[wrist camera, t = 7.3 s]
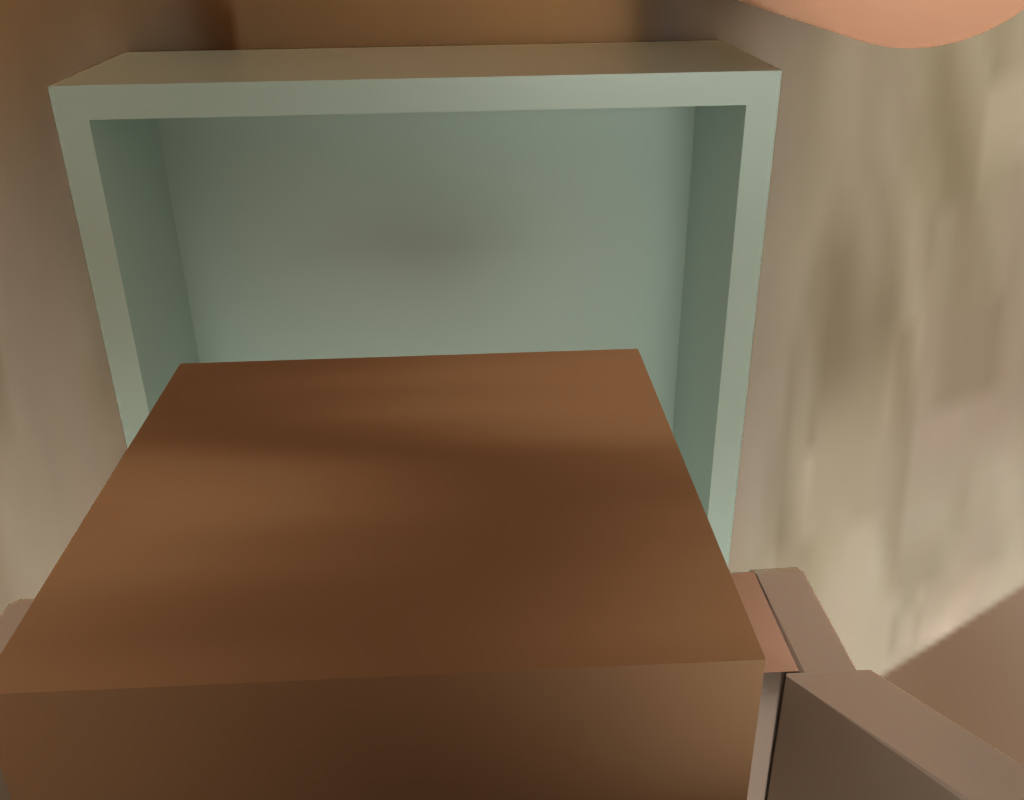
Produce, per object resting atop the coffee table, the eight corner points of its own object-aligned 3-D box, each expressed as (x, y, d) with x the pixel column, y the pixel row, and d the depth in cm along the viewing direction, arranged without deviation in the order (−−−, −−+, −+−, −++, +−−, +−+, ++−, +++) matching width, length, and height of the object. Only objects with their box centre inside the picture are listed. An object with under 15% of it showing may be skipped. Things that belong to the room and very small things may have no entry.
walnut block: (244, 708, 13) (128, 1134, 8) (180, 363, 11) (-23, 695, 6) (621, 691, 13) (706, 1099, 8) (637, 348, 11) (766, 658, 6)
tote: (673, 636, 30) (708, 753, 26) (236, 656, 29) (200, 779, 25) (720, 40, 22) (782, 70, 18) (125, 52, 21) (47, 86, 17)
